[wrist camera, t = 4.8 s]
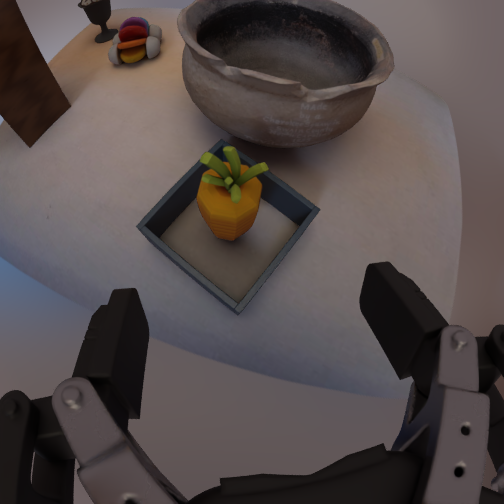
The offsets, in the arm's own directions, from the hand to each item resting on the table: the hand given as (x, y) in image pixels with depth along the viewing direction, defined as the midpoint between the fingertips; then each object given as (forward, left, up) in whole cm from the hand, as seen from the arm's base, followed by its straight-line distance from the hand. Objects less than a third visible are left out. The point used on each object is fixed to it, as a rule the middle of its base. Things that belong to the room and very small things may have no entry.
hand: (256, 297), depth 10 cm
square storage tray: (+6, +6, -20) cm, 22 cm away
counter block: (+2, +43, -20) cm, 48 cm away
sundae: (+22, +51, -20) cm, 59 cm away
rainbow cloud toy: (+21, +39, -20) cm, 49 cm away
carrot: (+6, +6, -20) cm, 22 cm away
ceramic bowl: (+23, +13, -20) cm, 33 cm away
